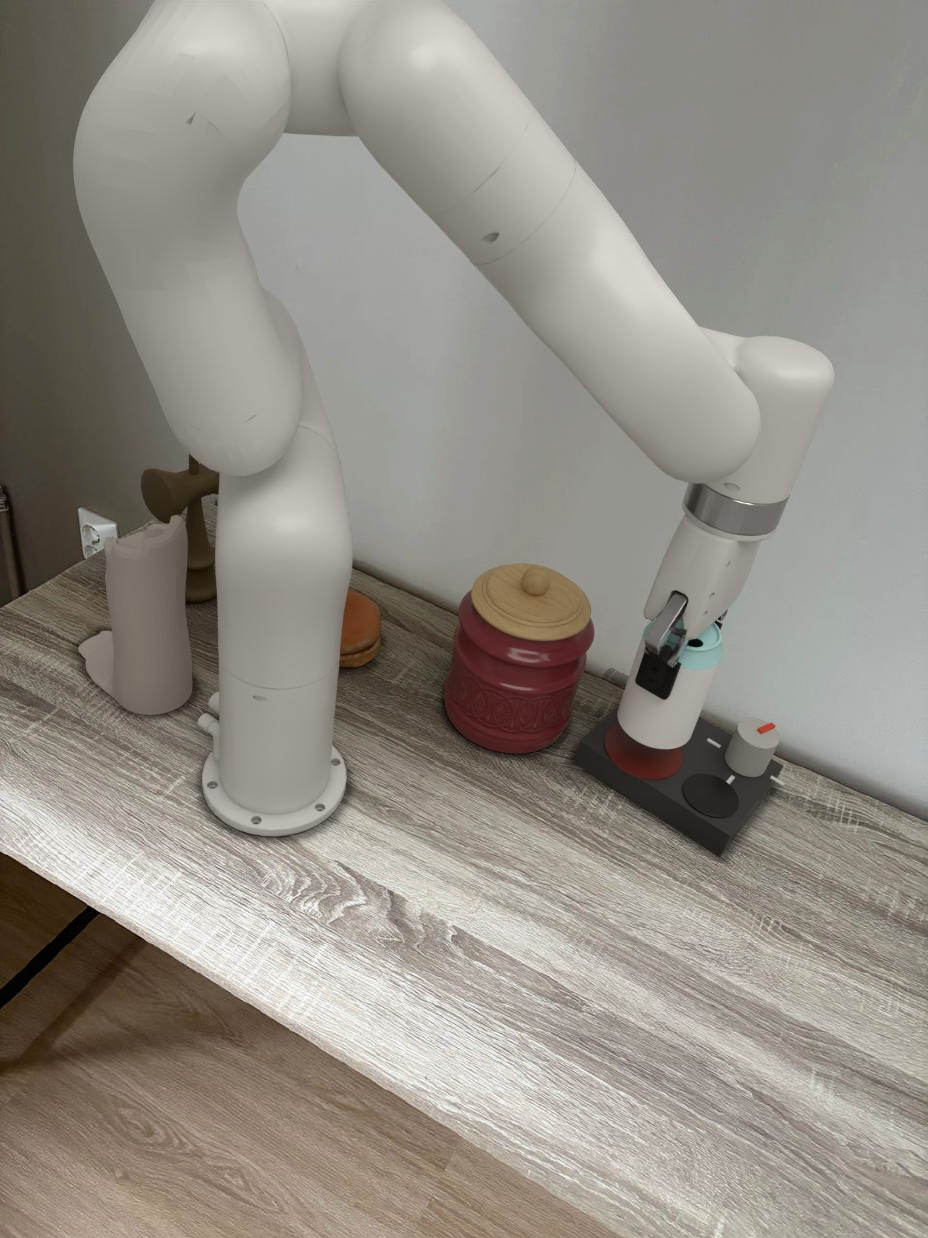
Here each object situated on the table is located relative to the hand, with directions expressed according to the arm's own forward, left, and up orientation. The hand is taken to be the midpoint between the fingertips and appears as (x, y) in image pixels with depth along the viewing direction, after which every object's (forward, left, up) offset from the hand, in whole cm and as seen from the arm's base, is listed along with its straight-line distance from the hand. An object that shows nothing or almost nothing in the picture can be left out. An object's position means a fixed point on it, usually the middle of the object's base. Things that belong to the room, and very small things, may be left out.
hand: (673, 669), depth 87 cm
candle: (-43, -26, -13) cm, 52 cm away
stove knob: (+8, +6, -10) cm, 14 cm away
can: (0, 0, -7) cm, 7 cm away
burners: (+3, +2, -10) cm, 11 cm away
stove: (+3, +2, -13) cm, 14 cm away
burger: (-33, -8, -13) cm, 37 cm away
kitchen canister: (-14, -3, -13) cm, 20 cm away
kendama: (-49, -13, -13) cm, 52 cm away
